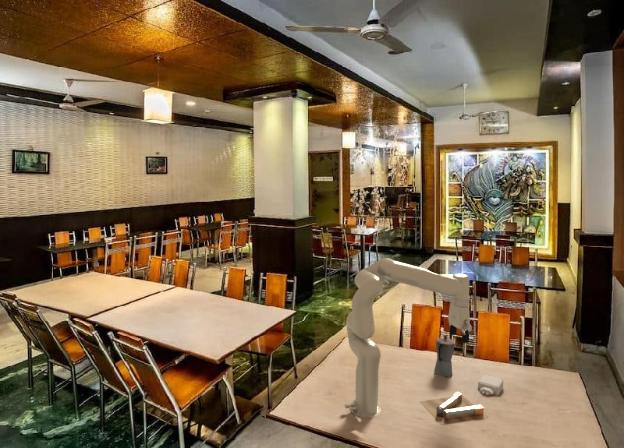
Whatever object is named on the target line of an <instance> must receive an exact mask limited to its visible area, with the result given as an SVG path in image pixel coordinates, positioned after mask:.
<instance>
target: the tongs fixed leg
mask: <svg viewBox="0 0 624 448" xmlns="http://www.w3.org/2000/svg"><path fill="white" fill-rule="evenodd" d="M474 405H475V404H474ZM484 409H485V407H483V406H482V404H476V405H475V406H470V407H463V408H456V409H449V410H445V412H444V417H445V418H446V419H451V418H458V417H464V416H471V415H475V416H477V415H483V414H485V413H484V412H485V410H484Z"/></svg>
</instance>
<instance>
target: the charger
mask: <svg viewBox="0 0 624 448" xmlns="http://www.w3.org/2000/svg"><path fill="white" fill-rule="evenodd" d="M477 388H478V389H479V392H480V393H482V394H483V395H484V394H485V395H488V396H491V395H493V396H500V394H501V391H502V390H503V388H504V380H503V379H502V378H499V377H496V376H492V375H488V374H483V375H482V376H481V378H480V379H479V381H478V383H477Z"/></svg>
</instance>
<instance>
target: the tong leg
mask: <svg viewBox="0 0 624 448" xmlns="http://www.w3.org/2000/svg"><path fill="white" fill-rule="evenodd" d="M462 396H463V393H461V392H459V391H456V392H455V393H453V394H452V396H451V397H452V398H450V399H449V400H448V401H446V402H445V403H444V404H442V405H441V406H438V407H437V410H436V415H437V416H439V417H443V414H444V412H445V410H449V409H451V408H452V407H454V406H455V405H456V404H457V403H459V402H460V401H461V400H462Z"/></svg>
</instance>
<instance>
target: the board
mask: <svg viewBox="0 0 624 448" xmlns="http://www.w3.org/2000/svg"><path fill="white" fill-rule="evenodd" d="M452 397H453V396H450V397H443V398H435V399H428V400H421V401H418V402H419V403H420V404H421V405H422V407H424V408H425V409H426V410H427V411H428V413H429V414H430V415H431V416H432V417H433V418H434V419H435V420H436V421H437V422H438V423H439V424H440V425H448V424H455V423H460V422H461V423H463V422H468V421H473V420H481V419H486V418H489V416H488V415H487V414H485V413H484V414H483V415H477V416H475V415H471V416H464V417H458V418H451V419H446V418H445V417H444V414H443V417H439V416H437V415H436V410H437V407H438V406H441V405H442V404H444V403H445V402H446V401H448V400H449V399H450V398H452ZM470 406H475V404H474V403H473V402H471V401H470V400H469V399H468V398H466V397H465V395H462V400H461V401H460V402H459V403H457V404H456V405H455V406H454V407H452V408H451V409H456V408H463V407H470Z"/></svg>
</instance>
